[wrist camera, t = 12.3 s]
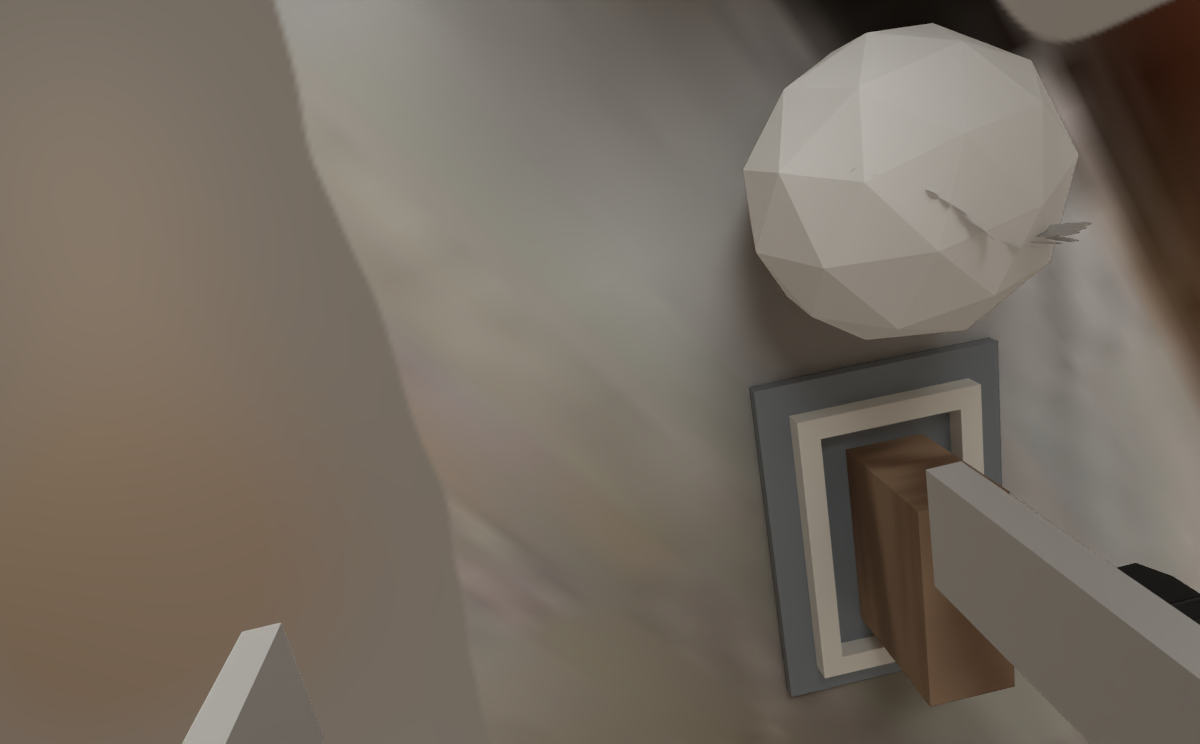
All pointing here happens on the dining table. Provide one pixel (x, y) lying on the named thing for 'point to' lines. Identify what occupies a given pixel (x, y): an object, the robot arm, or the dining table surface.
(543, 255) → the dining table surface
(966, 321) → the geodesic sphere
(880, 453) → the walnut block
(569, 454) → the dining table surface
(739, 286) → the dining table surface
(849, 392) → the grey flat frame
